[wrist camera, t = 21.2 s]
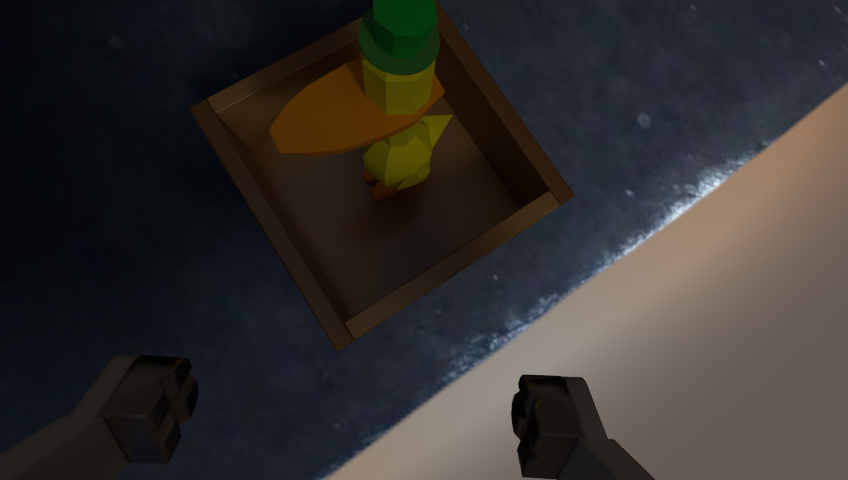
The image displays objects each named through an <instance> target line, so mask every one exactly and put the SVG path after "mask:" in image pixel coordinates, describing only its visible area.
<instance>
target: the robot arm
mask: <svg viewBox="0 0 848 480" xmlns="http://www.w3.org/2000/svg"><path fill="white" fill-rule="evenodd" d="M191 368H192V366H191V364H190V362H189V359H188V358H177V357H164V356H150V355H137V354H118V355H117V356H116V357H114V358H113V359H112V360H111V361H110V362H109V364H108V365H107V366H106V368H105V369H104V370H103V372H102V373H101V374H100V376H99V377H98V378H97V380H96V381H95V382H94V384H93V385H92V386H91V388H90V389H89V390H88V392H87V393H86V394H85V396H84V397H83V398H82V400H81V401H80V402H79V404H78V405H77V406H76V408H75V409H74V410H73V412H72V413H71V414H70V416H61V417H60V418H58V419H56V420H55V421H53V422H52V423H50V424H48V425H47V426H45V427H44V428H42V429H40V430H39V431H37V432H36V433H34V434H32V435H31V436H29V437H28V438H26V439H24V440H23V441H21V442H20V443H18V444H16V445H15V446H13V447H12V448H10V449H8V450H7V451H5V452H4V453H2V454H0V480H114V479H115V478H116V477H118V476H119V475H120V474H121V473H122V472H123V471H124V470H125V469H126V468H127V467H129V465H130V464H129V463H165V464H168V463H169V461H170V459H171V457H172V455H173V453H174V451H175V449H176V447H177V444H178V442H179V440H180V438H181V436H182V435H181V432H180V428H179V427H180V426H181V425H182V424H184V423H185V422H186V421H187V420H189V419H190V418H191V415H192V413H193V411H194V409H195V407H196V402H197V398H198V384H197V381H196V379H195V378H194V377H192V376H191V375H190V374H189V372H190V370H191ZM518 385H519V390H520V391H519V392H518V393H516V394H515V395H514V398H513V402H512V411H511V416H512V425H513V431H514V433H515V435H516V436H517V437H518V438H519V439H520V440H521V441H520V444H519V446H518V449H517V452H518V457H519V462H520V467H521V473H522V477H530V478H544V479H557V480H655V479H654V478H653V477H652V476H651V475H650V474H649V473H648V472H647V471H646V470H645V469H644V468H643V467H642V466H641V465H640V464H639V463H638V462H637V461H636V460H635V459H633V458H632V457H631V456H630V455H629V454H628V453H627V452H626V451H625V450H624V449H623V448H622V447H621V446H620V445H619V444H618V443H617V442H616V441H615V440H613V439H608V438H607V435H606V433H605V430H604V428H603V425H602V422H601V420H600V417H599V414H598V412H597V409H596V407H595V404H594V401H593V399H592V397H591V394H590V391H589V388H588V386H587V383H586V381H585V380H584V379H583V378H581V377H561V376H548V375H522V376H521V377H520V380H519V383H518Z"/></svg>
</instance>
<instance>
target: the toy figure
mask: <svg viewBox="0 0 848 480" xmlns="http://www.w3.org/2000/svg"><path fill="white" fill-rule="evenodd" d="M436 23H437V14H436V5H435V0H373V8H371V9H370V10H369V11H367V12H366V14H365V15H364V16H363V17H362V19H361V22H360V24H359V28H358V42H359V45H360V48H361V57H360V58H358V59H355V60H353V61H351V62H348V63H346V64H344V65H343V66H341V67H339V68H337V69H336V70H334V71H332V72H330V73H329V74H327V75H325V76H323V77H322V78H320V79H318V80H316V81H315V82H313V83H311V84H309V85H308V86H307V87H305V88H304V89H303V90H302V91H301V92H300V93H299V94H297V95H296V96H295V97H294V98H293V99H292V100H290V101H289V102H288V103H287V104H286V105H285V107H284V108H283V110H282V111H281V113H280V114H279V116H278V117H277V119H276V120H275V122H274V123H273V125H272V126H271V128H270V129H269V132H270V134H271V136H272V138H273V140H274V142H275V144H276V146H277V148H278V150H279V152H280V153H298V154H302V155H305V156H309V157H312V158H315V157H323V156H330V155H337V154H343V153H346V152H349V151H352V150H355V149H358V148H361V147H362V154H363V161H364V166H365V170H363V171H362V172H361V174H362V176H363V178H364V180H365V181H366V182H376V181H378V182H377V184H376V185H375V187H374V188H373V189H372V190H371V191H370V194H371V195H372V197H373V199H374V200H375V201H376V200H382V199H388V198H390V197H392V196H393V195H395V194H396V193H397V192H399V191H400V190H401V189H403V188H407V187H410V186H413V185H417V184H418V183H420V182H422V181H424V180H426V179H427V176H428V174H429V173H430V167H429V164H430V159H431V155H432V149H433V147H434V146H435V144H436V142H437V141H438V139H439V137H440V136H441V134H442V132H443V130H444V129H445V127H446V125H447V124H448V122H449V120H450V119H451V117H452V115H435V116H424V115H425V113H426V112H427V111H428V110H429V109H430V108H431V107H432V106H433V105H434V104H435V103H436V102H437V101H438V100H439V99H440V98H441V97H442V95H443V94H444V92H445V91H444V89H443V87H442V85H441V84H440V82H439V80H438V78H437V76H436V75H435V73H434V67H435V61H436V57H437V54H438V52H439V49H440V36H439V32H438V29H437V27H436V25H435V24H436Z"/></svg>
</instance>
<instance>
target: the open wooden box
mask: <svg viewBox="0 0 848 480" xmlns="http://www.w3.org/2000/svg"><path fill="white" fill-rule="evenodd" d="M435 5H436V14H437V23H436V24H435V25H436V27H437V29H438V32H439V36H440V49H439V52H438V54H437V57H436V61H435V67H434V73H435V75H436V76H437V78H438V80H439V82H440V84H441V85H442V87H443V89H444V91H445V92H444V94H443V95H442V97H441V98H440V99H439V100H438V101H437V102H436V103H435V104H434V105H433V106H432V107H431V108H430V109H429V110H428V111H427V112H426V113H425V115H424V116H435V115H452V117H451V119H450V120H449V122H448V124H447V125H446V127H445V129H444V130H443V132H442V134H441V136H440V137H439V139H438V141H437V142H436V144H435V146H434V147H433V149H432V155H431V159H430V164H429V167H430V173H429V174H428V176H427V179H426V180H424V181H422V182H420V183H418V184H417V185H413V186H410V187H407V188H403V189H401V190H400V191H399V192H397V193H396V194H395V195H393V196H392V197H390V198H388V199H382V200H376V201H375V200H374V199H373V197H372V195H371V194H370V191H371V190H372V189H373V188H374V187H375V185H376V184H377V182H378V181H376V182H366V181H365V180H364V178H363V176H362V174H361V172H362V171H363V170H365V166H364V161H363V154H362V147H361V148H358V149H355V150H352V151H349V152H346V153H343V154H337V155H330V156H323V157H315V158H312V157H309V156H305V155H302V154H298V153H280V152H279V150H278V148H277V146H276V144H275V142H274V140H273V138H272V136H271V134H270V132H269V129H270V128H271V126H272V125H273V123H274V122H275V120H276V119H277V117H278V116H279V114H280V113H281V111H282V110H283V108H284V107H285V105H286V104H287V103H288V102H289V101H290V100H292V99H293V98H294V97H295V96H296V95H297V94H299V93H300V92H301V91H302V90H303V89H304V88H305V87H307V86H308V85H309V84H311V83H313V82H315V81H316V80H318V79H320V78H322V77H323V76H325V75H327V74H329V73H330V72H332V71H334V70H336V69H337V68H339V67H341V66H343V65H344V64H346V63H348V62H351V61H353V60H355V59H358V58H360V57H361V48H360V45H359V42H358V28H359V24H360V22H361V19H362V17H361V18H359V19H357V20H355V21H354V22H352V23H350V24H348V25H346V26H344V27H342V28H340V29H338V30H336V31H335V32H333V33H331V34H329V35H327V36H325V37H323V38H321V39H319V40H317V41H315V42H314V43H312V44H310V45H308V46H306V47H304V48H302V49H300V50H298V51H296V52H294V53H293V54H291V55H289V56H287V57H285V58H283V59H281V60H279V61H277V62H275V63H274V64H272V65H270V66H268V67H266V68H264V69H262V70H260V71H258V72H256V73H254V74H253V75H251V76H249V77H247V78H245V79H243V80H241V81H239V82H237V83H235V84H234V85H232V86H230V87H228V88H226V89H224V90H222V91H220V92H218V93H216V94H214V95H213V96H211V97H209V98H207V100H204V101H202V102H200V103H198V104H196V105H194V106H192V107H190V111H191V113H192V115H193V116H194V118H195V120H196V121H197V123H198V124H199V126H200V128H201V129H202V131H203V133H204V134H205V136H206V138H207V139H208V141H209V143H210V144H211V146H212V148H213V149H214V151H215V153H216V154H217V156H218V157H219V159H220V161H221V162H222V164H223V166H224V167H225V169H226V171H227V172H228V174H229V176H230V177H231V179H232V181H233V182H234V184H235V185H236V187H237V189H238V190H239V192H240V194H241V195H242V197H243V199H244V200H245V202H246V204H247V205H248V207H249V209H250V210H251V212H252V213H253V215H254V217H255V218H256V220H257V222H258V223H259V225H260V227H261V228H262V230H263V232H264V233H265V235H266V237H267V238H268V240H269V242H270V243H271V245H272V246H273V248H274V250H275V251H276V253H277V255H278V256H279V258H280V260H281V261H282V263H283V265H284V266H285V268H286V270H287V271H288V273H289V274H290V276H291V278H292V279H293V281H294V283H295V284H296V286H297V288H298V289H299V291H300V293H301V294H302V296H303V298H304V299H305V301H306V302H307V304H308V306H309V307H310V309H311V311H312V312H313V314H314V316H315V317H316V319H317V321H318V322H319V324H320V326H321V327H322V329H323V331H324V332H325V334H326V335H327V337H328V339H329V340H330V342H331V344H332V345H333V347H334V349H335V350H336V351H339V350H340V349H342V348H344V347H345V346H347V345H348V344H350V343H351V342H353V341H354V340H356V339H357V338H359V337H361V336H362V335H364V334H365V333H367V332H368V331H370V330H371V329H373V328H374V327H376V326H377V325H379V324H380V323H382V322H383V321H385V320H387V319H388V318H390V317H391V316H393V315H394V314H396V313H397V312H399V311H400V310H402V309H403V308H405V307H406V306H408V305H409V304H411V303H413V302H414V301H416V300H417V299H419V298H420V297H422V296H423V295H425V294H426V293H428V292H429V291H431V290H432V289H434V288H435V287H437V286H439V285H440V284H442V283H443V282H445V281H446V280H448V279H449V278H451V277H452V276H454V275H455V274H457V273H458V272H460V271H462V270H463V269H465V268H466V267H468V266H469V265H471V264H472V263H474V262H475V261H477V260H478V259H480V258H481V257H483V256H484V255H486V254H488V253H489V252H491V251H492V250H494V249H495V248H497V247H498V246H500V245H501V244H503V243H504V242H506V241H507V240H509V239H510V238H512V237H514V236H515V235H517V234H518V233H520V232H521V231H523V230H524V229H526V228H527V227H529V226H530V225H532V224H533V223H535V222H536V221H538V220H540V219H541V218H543V217H544V216H546V215H547V214H549V213H550V212H552V211H553V210H555V209H556V208H558V207H559V206H561V205H562V204H564V203H565V202H567V201H568V200H570V199H571V198H573V197H574V193H573V192H572V190H571V189H570V188H569V186H568V185H567V183H566V182H565V181H564V179H563V178H562V176H561V175H560V173H559V172H558V171H557V169H556V168H555V166H554V165H553V164H552V162H551V161H550V159H549V158H548V157H547V155H546V154H545V152H544V151H543V150H542V148H541V147H540V145H539V144H538V142H537V141H536V140H535V138H534V137H533V135H532V134H531V133H530V131H529V130H528V128H527V127H526V126H525V124H524V123H523V121H522V120H521V118H520V117H519V116H518V114H517V113H516V111H515V110H514V109H513V107H512V106H511V104H510V103H509V102H508V100H507V99H506V97H505V96H504V95H503V93H502V92H501V90H500V89H499V87H498V86H497V85H496V83H495V82H494V80H493V79H492V78H491V76H490V75H489V73H488V72H487V71H486V69H485V68H484V66H483V65H482V63H481V62H480V61H479V59H478V58H477V56H476V55H475V54H474V52H473V51H472V49H471V48H470V47H469V45H468V44H467V42H466V41H465V40H464V38H463V37H462V35H461V34H460V32H459V31H458V30H457V28H456V27H455V25H454V24H453V23H452V21H451V20H450V18H449V17H448V16H447V14H446V13H445V11H444V10H443V8H442V7H441V6H440V4H439V3H438V1H437V0H435Z"/></svg>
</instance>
